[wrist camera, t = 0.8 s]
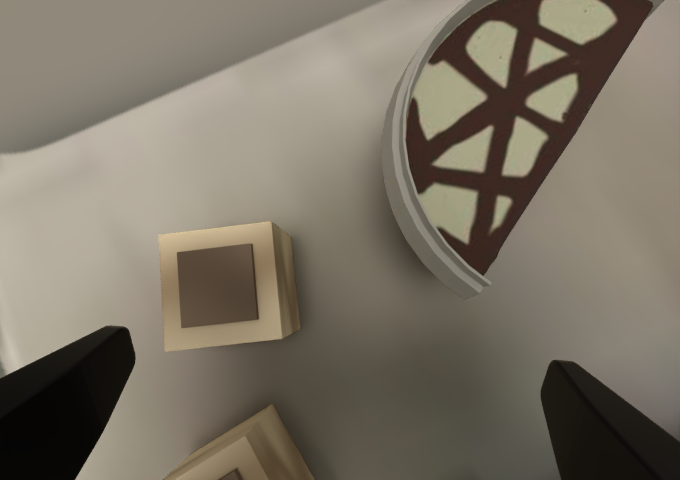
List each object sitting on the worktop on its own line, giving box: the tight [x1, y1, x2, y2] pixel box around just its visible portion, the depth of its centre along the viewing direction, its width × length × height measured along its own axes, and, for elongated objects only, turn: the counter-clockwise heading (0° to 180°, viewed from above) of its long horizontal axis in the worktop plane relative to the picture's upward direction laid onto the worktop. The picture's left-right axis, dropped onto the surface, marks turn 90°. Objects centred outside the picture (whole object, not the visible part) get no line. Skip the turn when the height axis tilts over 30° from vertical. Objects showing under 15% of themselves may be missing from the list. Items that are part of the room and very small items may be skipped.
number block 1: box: [159, 221, 300, 352], centre depth 20 cm, size 5×5×5 cm
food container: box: [381, 0, 664, 300], centre depth 18 cm, size 12×6×10 cm, turn 146°
